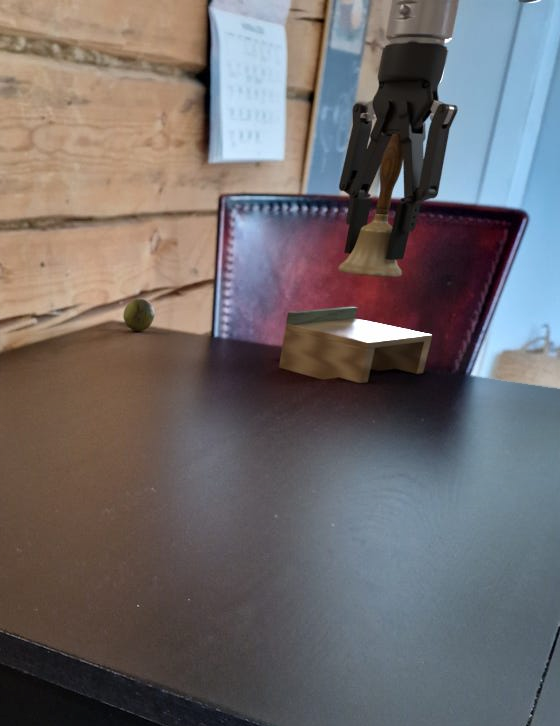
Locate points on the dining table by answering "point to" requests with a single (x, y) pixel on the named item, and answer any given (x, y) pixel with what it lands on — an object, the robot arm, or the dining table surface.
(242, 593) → the dining table surface
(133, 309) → the lime
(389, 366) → the shelf
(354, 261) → the hand bell
